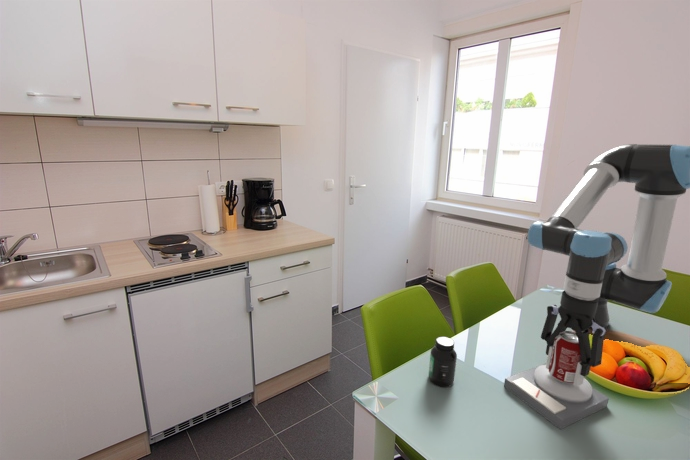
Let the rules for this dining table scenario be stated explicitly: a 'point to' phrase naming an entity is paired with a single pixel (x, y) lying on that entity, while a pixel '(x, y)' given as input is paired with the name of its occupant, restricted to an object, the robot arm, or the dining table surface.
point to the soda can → (565, 357)
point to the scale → (555, 396)
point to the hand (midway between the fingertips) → (563, 375)
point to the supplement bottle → (442, 362)
